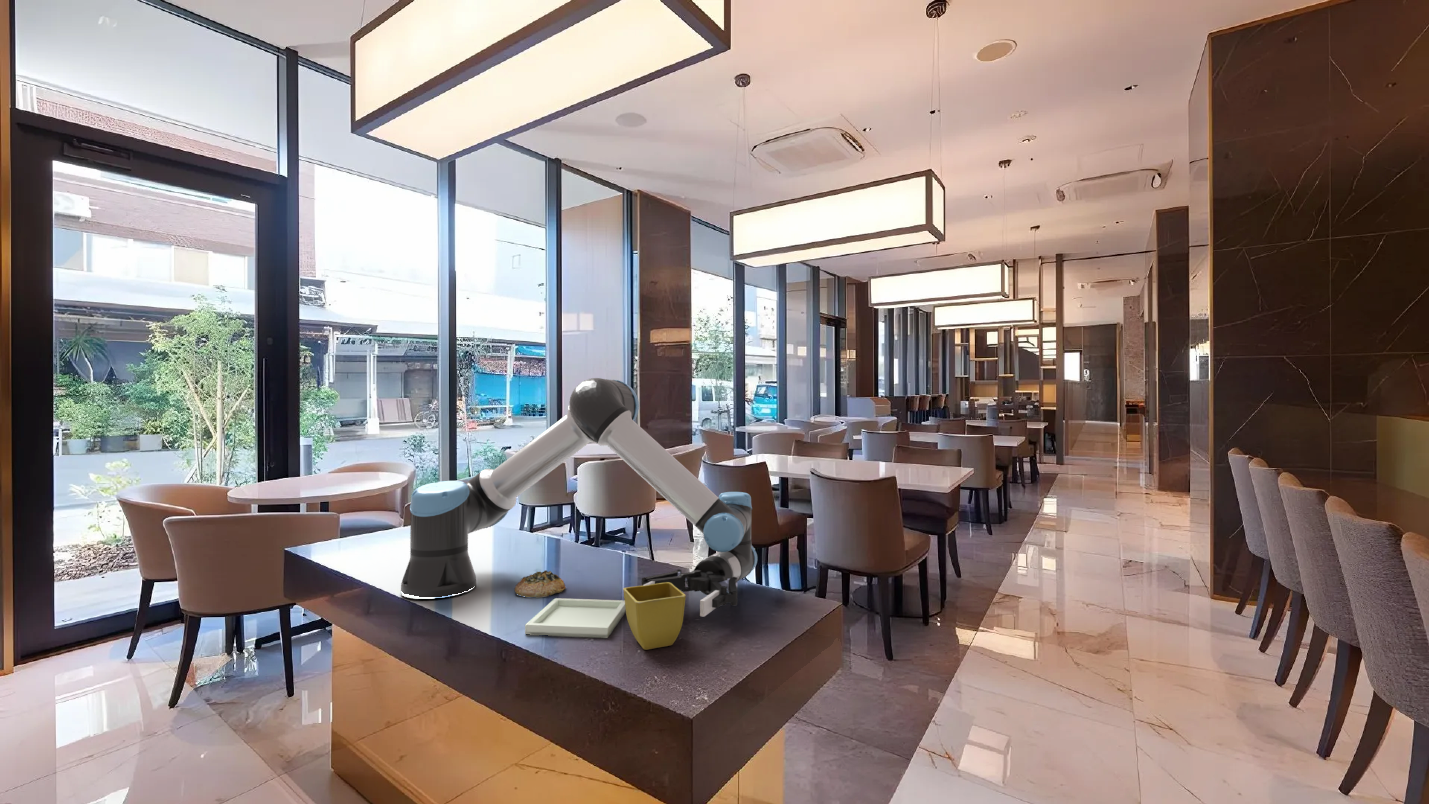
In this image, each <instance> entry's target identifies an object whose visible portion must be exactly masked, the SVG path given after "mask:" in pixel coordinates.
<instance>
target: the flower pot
mask: <svg viewBox="0 0 1429 804" xmlns="http://www.w3.org/2000/svg"><path fill="white" fill-rule="evenodd" d="M622 590H623V598H624V601H625V608H626V612H625V614H626V619H627V623H628V625H629V628H630V630H631V632H632V635H633V636H634V639H635V640H636V641H637V642H638V644H639V645H640V646H641V649H643V650H652V649H657V648H658V649H659V648H663V647H668V646H673V645H674V644H675V642H676V640H677V638H678V636H679V634H680V632H681V630H682V626H683V622H684V614H685V605H686V597H687V595H686V594H685V592H683V591H681V590H679V589H678V588H676V587H675V586H674V585H673V584H672V583H670V582H665V583H658V584H651V585H644V586H642V585H637V586H634V585H633V586H627V587H623V588H622Z"/></svg>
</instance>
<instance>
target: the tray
mask: <svg viewBox="0 0 1429 804" xmlns="http://www.w3.org/2000/svg"><path fill="white" fill-rule="evenodd" d="M625 614H626V608H625V600H622V599H621V600H620V599H619V600H618V599H594V598H593V599H588V598H563V597H562V598H559V597H558V598H557V597H556V598H554V599H552V600H551V601H550V602H549V603H548V604H547V605H546V606H545V607H543V608H542V609H541V610H540V611H539V612H537V613H536V615H534V616H533V617H532V618H531V619H530V620H529V621H528V622H527V623H526V624H525V625H524V635H525V634H530V635H529V636H539V635H548V636H547V637H566V638H567V637H568V638H569V637H570V638H571V637H572V638H592V639H593V638H594V639H595V638H597V639H608V638H609V637H610V635H611V634H612V633H613V631H614V629H615V628H616V626H617V625H618V624H619V622H620V621H621V620H622V618H623V616H625Z"/></svg>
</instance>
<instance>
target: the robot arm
mask: <svg viewBox="0 0 1429 804" xmlns="http://www.w3.org/2000/svg"><path fill="white" fill-rule="evenodd" d="M639 408H640V402H639V398H638V396H637V394H636V391H635V390H634V388H632V387H631V386H630V385H629V384H627V383H625V382H623V381H621V380H619V379H605V378H601V377H592V378H588V379H586V380H583V381H581V382H580V383H578V385H576V386H575V388H574V389H573V391H572V392H571V395H570V398H569V403H568V407H567V413H566V415H564V416H563V417H561V418H560V419H559V420H558V421H556V422H555V423H554V424H552V425H551V426H550V427H548V428H547V429H546V430H545V431H543V432H542V433H540V434H539V435H537V436H536V437H535V438H534V439H532V440H531V441H530V442H528V443H527V444H526V445H525V446H523V447H522V448H521V449H519V450H518V451H517V452H515V453H514V454H513V455H511V456H510V457H508V459H506V460H505V461H504V462H502V463H501V464H499V465H498V466H497V467H496V468H495V469H493V468H485V469H483V470H481V471H480V472H478V473H477V474H476V475H475V476H473V477H472V478H471V479H469V480H467V481H466V482H464V481H460V480H440V481H437V482H430V483H426V484H423V485H420V486H419V487H417V488H415V489H414V490H413V492H412V494H411V497H410V498H411V499H410V505H409V511H410V533H409V534H410V537H409V539H410V541H409V542H410V546H409V547H410V549H409V550H410V551H409V552H410V553H409V561H408V563H407V566H406V569H405V572H404V575H403V577H402V581H401V583H400V592H401V591H402V592H403V593H404V594H409V595H414V596H419V597H442V596H448V595H452V594H458V593H462V592H464V591H468V590H469V589H471V588H473V587H474V586H475V585H476V586H477V576H476V573H475V570H474V567H473V564H472V561H471V558H470V555H469V534H472V533H474V532H476V531H480V530H483V529H487V528H491V527H493V526H495V525H497V524H498V523H499V522H501V521H502V520H504V518H505V517H506V516H507V514H508V513H509V511H510V510H512V509H513V508H514V507H515V506H516V503H517V497H519V496H520V495H522V494H523V493H524V492H526V491H527V490H528V489H530V488H531V487H533V486H534V485H535V484H537V483H538V482H539V481H540V480H542V479H543V478H545V477H546V476H547V475H548V474H550V473H551V472H552V471H554V470H556V468H558V467H559V466H561V464H563V463H564V462H566V461H567V460H568V459H570V458H571V457H572V456H574V455H575V454H576V453H578V452H579V451H581V450H582V449H583V448H585V447H586V446H587V445H589V444H590V443H591V444H598V445H599V446H601V447H602V446H603V447H604V446H607V447H608V448H609V449H610V450H611V451H613V452H614V454H615V455H617V456H618V457H619V458H620V459H621V460H623V462H625V463H626V464H627V465H628V466H629V467H630V469H632V470H633V471H634V472H636V473H637V475H638V476H640V477H641V478H642V479H643V480H644V481H646V483H648V485H650V486H651V488H653V489H654V490H655V491H656V492H658V494H659V495H660V496H662V497H663V498H664V499H665V500H666V501H667V502H669V504H670V505H671V506H672V507H674V509H676V510H677V512H679V513H680V514H681V515H682V516H683V517H685V518H686V519H687V520H688V521H689V522H690V523H691V524H692V525H693V526H695V528H696V529H698V530H699V531H700V532H701V533H702V535H703V538H704V541H705V544H706V545H707V546H708V547H709V548H710V549H711V550H713V551H715V552H716V553H713V554H711V555H709V556H708V557H706V558H704V559H702V560H700V561H699V562H698V563H697V565H696V566H695V568H694V569H693V570H692V571H689V572H687V571H686V572H682V569H675V570H673V571H670V572H669V571H668V572H666V573H665V572H664V573H660V574H655V575H649V576H645V577H642V578H641V586H644V585H651V584H658V583H665V582H670V583H672V584H673V585H674V586H675V587H676V588H678V589H679V590H680V591H681V592H683V593H686V592H687V593H688V592H692V591H693V592H701V593H702V594H703V595H705V597H703V598H702V599H700V600H699V616H700V617H704V618H705V617H706V616H707V615H709V614H710V613H711V612H712V611H714V610H715V609H718V608H720V607H722V606H727V604H728V603H730V605H731V606H734V607H736V606H738V582H739V581H741V580H742V579H744V578H746V577H747V576H749V575H750V574H751V573H752V571H754V570H755V568H756V566H757V564H758V554H757V551H756V550H755V547H754V546H753V545H752V544H753V543H752V510H753V507H752V497H751V495H750V494H749V493H747V492H742V491H727V492H726V491H725V492H721V493H720V494H719V495H718V496H717V495H716V494H715V493H714V492H713V491H712V490H711V489H709V487H708V486H706V485H705V484H704V483H703V482H702V481H701V480H700V479H698V477H696V476H695V475H694V474H693V473H692V472H691V471H690V470H689V469H688V468H686V467H685V466H684V465H683V464H682V463H681V462H680V461H678V460H677V459H676V458H675V456H673V455H672V454H671V453H670V452H669V451H668V450H667V449H666V448H664V447H663V446H662V445H661V444H660V443H659V442H658V441H657V440H655V439H654V438H653V437H652V436H651V435H650V434H649V433H648V432H647V431H646V430H645V429H643V428H642V427H641V426H640V425H639V424H638V423H636V421H635V420H636V419H637V416H638V414H639V410H640V409H639Z"/></svg>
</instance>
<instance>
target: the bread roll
mask: <svg viewBox="0 0 1429 804" xmlns="http://www.w3.org/2000/svg"><path fill="white" fill-rule="evenodd" d="M566 588H567V587H566V585H565V582H564V580H563V579H562V578H561V577H560V576H559V575H558V574H555V573H553V572H552V571H551V570H547V569H546V570H544V571H542V572H541V571H536V572H535V573H532V574H529V575H527V576H523V577H522V578H521V580H519V581H518V583H517V584H516V585H515V587H514V592H515V595H516V594H518V595H521V596H525V597H536V598H544V597H550V596H552V595H553V596H554V594H560V593H563V591H564V590H566ZM518 595H517V596H518ZM549 595H550V596H549Z"/></svg>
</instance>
